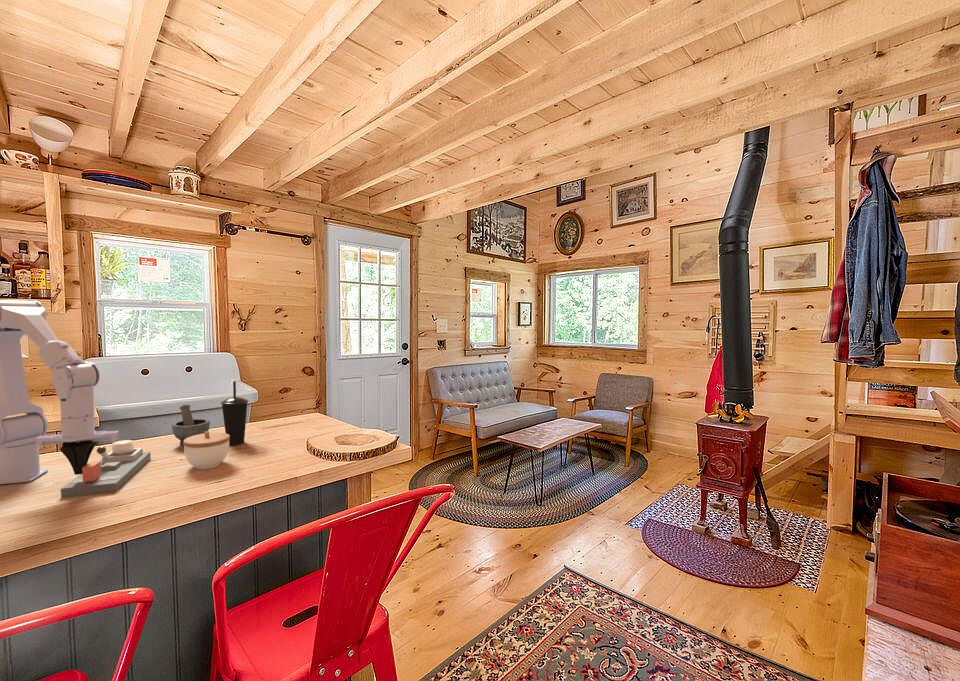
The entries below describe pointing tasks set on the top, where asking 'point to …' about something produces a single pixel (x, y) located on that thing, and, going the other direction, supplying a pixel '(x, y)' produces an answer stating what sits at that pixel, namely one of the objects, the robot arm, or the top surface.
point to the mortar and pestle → (189, 425)
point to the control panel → (109, 474)
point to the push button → (122, 447)
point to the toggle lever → (103, 453)
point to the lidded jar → (206, 449)
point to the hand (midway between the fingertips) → (80, 473)
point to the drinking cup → (235, 417)
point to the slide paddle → (91, 471)
